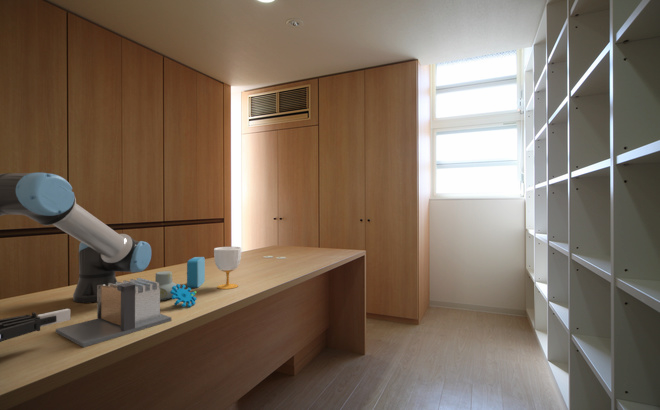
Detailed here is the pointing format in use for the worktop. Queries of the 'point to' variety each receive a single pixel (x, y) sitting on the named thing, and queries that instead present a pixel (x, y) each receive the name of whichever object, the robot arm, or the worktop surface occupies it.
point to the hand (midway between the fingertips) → (68, 314)
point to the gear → (183, 295)
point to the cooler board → (106, 330)
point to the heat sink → (144, 299)
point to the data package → (195, 272)
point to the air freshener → (165, 284)
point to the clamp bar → (109, 304)
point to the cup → (227, 262)
